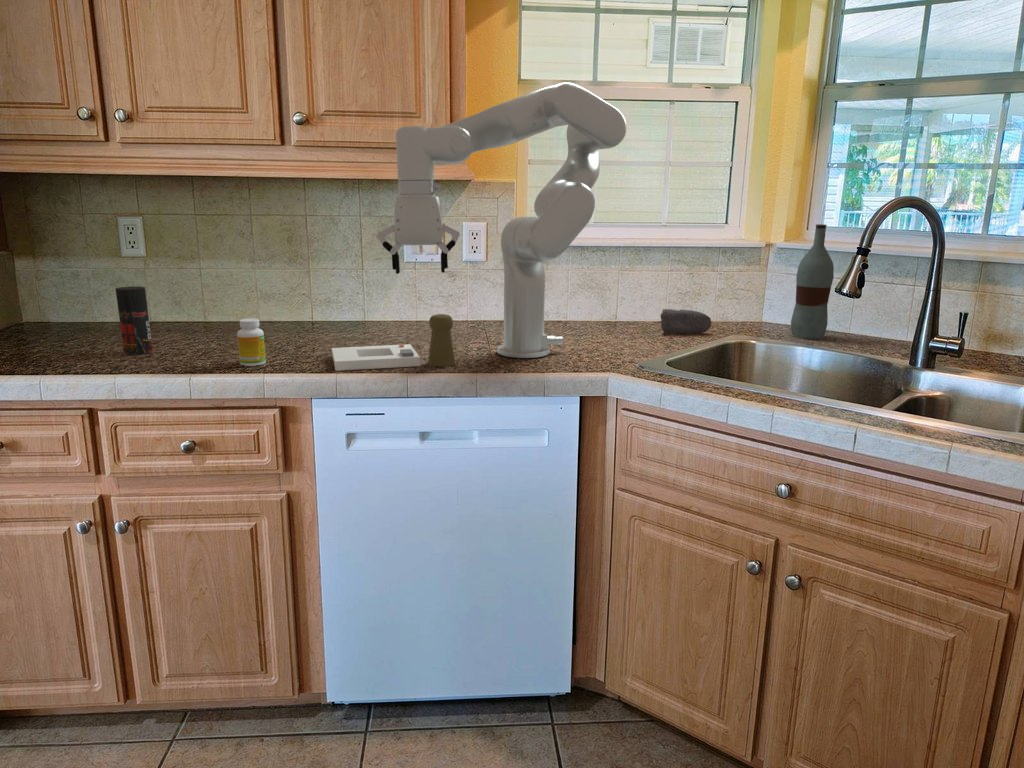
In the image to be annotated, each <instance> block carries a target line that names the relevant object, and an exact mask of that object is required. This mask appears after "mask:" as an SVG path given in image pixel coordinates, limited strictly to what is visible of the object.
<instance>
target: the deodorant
mask: <svg viewBox="0 0 1024 768" xmlns="http://www.w3.org/2000/svg"><path fill="white" fill-rule="evenodd" d="M146 292H147V291H146V287H144V286H121V287H116V288H115V296H116V303H117V312H118V317H119V318H118V319H119V325H120V331H121V340H122V346H123V353H124V355H125V354H126V355H125V356H142V354H144V355H148V353H149V354H152V353H153V352H154V349H153V343H152V342H153V341H152V340H153V339H152V331H151V326H150V325H151V324H150V318H149V308H148V301H147V294H146Z"/></svg>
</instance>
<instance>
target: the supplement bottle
mask: <svg viewBox="0 0 1024 768" xmlns="http://www.w3.org/2000/svg"><path fill="white" fill-rule="evenodd" d="M239 327H240V328H241V329H239V330H238V331H237V333H236V334H237V335H236V336H237V345H238V347H237V348H238V357H239V365H241V366H243V365H244V367H257V365H258V366H261V365H262V366H263V365H265V364H266V363H267V359H266V347H265V334H264V331H263V330H262V328H259V327H260V320H259V318H243V319H239Z"/></svg>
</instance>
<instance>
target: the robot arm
mask: <svg viewBox="0 0 1024 768" xmlns="http://www.w3.org/2000/svg"><path fill="white" fill-rule="evenodd" d="M561 126H567V127H566V128H567V129H566V142H567V157H566V160H565V161H564V163H563V165H562V166H561V168H559V170H558V171H557V172H556V173H555V174H554V176H553V177H552V178H551V179H550V180H549V181H548V183H546V184H545V185H544V187H543V188H542V189H541V190H540V191H539V193H538V194H537V196H536V198H535V199H534V204H533V205H534V206H533V210H534V213H535V215H536V216H537V217H536V216H519V217H515V218H513V219H511V220H509V221H508V222H507V223H506V224H505V226H504V228H503V229H502V232H501V234H500V235H501V236H500V237H501V238H500V248H501V253H502V254H501V255H502V261H503V271H504V272H503V273H504V274H503V275H504V277H503V278H504V279H503V282H504V283H503V284H504V285H503V286H504V287H503V344H502V345H501V344H500V345H498V346H497V348H496V352H497V354H498V355H500V356H503V357H507V358H508V357H509V358H518V359H534V358H541V357H545V356H548V355H550V353H551V348H550V346H551V345H563V343H564V337H563V336H561V335H560V336H555V335H548V334H546V333H544V331H545V299H546V298H545V292H546V291H545V290H546V289H545V288H546V273H545V268H544V267H545V266H544V263H548V262H549V263H550V262H552V261H554V260H556V259H557V258H558V257H560V256H561V255H562V254H563V253H564V252H565V251H566V250H567V249H568V247H569V246H570V245H571V244H572V242H574V240H575V239H576V238H577V237H578V236H579V234H580V233H581V232H582V231H583V230H584V229H585V227H587V225H588V224H589V222H590V220H591V219H592V216H593V215H594V212H595V207H596V206H595V205H596V200H595V199H596V198H595V196H594V195H595V194H594V192H593V191H592V188H593V187H594V185H595V183H596V182H597V181H598V179H599V175H600V168H601V167H600V152H599V151H600V150H605V149H612V148H615V147H617V146H619V144H620V143H622V142H623V141H624V139H625V137H626V133H627V122H626V118H625V116H624V115H623V113H622V112H621V111H620V110H619V109H618V108H617V107H615V106H613V105H612V104H610V103H608V102H607V101H605V100H604V99H602V98H601V97H599V96H597V95H595V94H594V93H593V92H591V91H590V90H587V89H586V88H584V87H582V86H580V85H578V84H575V83H572V82H560V83H558V84H555V85H549V86H547V87H544V88H543V87H542V88H540V89H538V90H535V91H531V92H529V93H527V94H524V95H522V96H518V97H515V98H513V99H510V100H507V101H505V102H502V103H501V102H500V103H499V104H496V105H494V106H491V107H489V108H486V109H484V110H482V111H480V112H477V113H476V114H472V115H470V116H467V117H464V118H462V119H459V120H456V121H453V122H450V123H448V124H445V125H443V126H440V127H426V126H423V125H420V126H419V125H418V126H417V125H409V126H401V127H399V128H398V129H397V130H396V131H395V145H396V146H395V147H396V164H397V167H396V168H397V187H398V196H395V200H394V209H393V211H394V212H393V224H392V225H390V226H389V227H387V228H385V229H383V230H382V231H380V232H377V236H376V237H377V238H378V240H379V242H380V243H381V245H382V247H383V248H384V249H386V250H387V251H388V252H389V253H390V255H391V263H392V264H391V265H392V270H395V274H396V275H398V274H400V272H401V267H400V266H401V265H400V254H399V249H400V248H401V247H402V246H435V245H436V246H437V247H438V248H439V249H440V250H441V251H440V252H441V253H440V269H441V270H440V271H441V273H443V274H444V273H446V272H445V271H446V270H445V269H449V267H448V266H449V265H448V264H449V263H448V262H449V261H448V253H450V252H451V250H452V249H453V248H454V247H455V245H456V244H457V241H458V240H459V237H460V231H458V230H456V229H454V228H452V227H450V226H448V225H446V224H444V223H443V216H442V213H443V212H442V208H441V207H442V205H441V201H440V198H439V196H436V193H437V192H439V191H442V190H443V189H442V184H443V183H438V182H435V166H449V165H451V166H452V165H457V164H458V165H459V164H462V163H464V162H465V161H467V160H468V159H470V157H471V155H472V154H474V153H477V152H481V151H484V150H490V149H496V148H501V147H506V146H509V145H512V144H515V143H518V142H522V141H523V140H525V139H528V138H530V137H531V138H532V137H533V136H535V135H538V134H540V133H544V132H546V131H549V130H551V129H554V128H558V127H561ZM444 232H446V233H447V234H449V235H451V238H450V240H449V242H448V243H447V244H445V243H444V242H443V239H444ZM392 233H394V235H393V236H394V241H395V244H394V245H392V244H390V242H389V241H388V240H387V238H386V237H387V236H388V235H390V234H392Z"/></svg>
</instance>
